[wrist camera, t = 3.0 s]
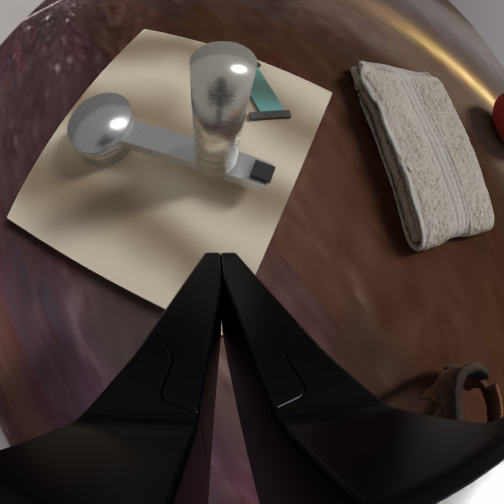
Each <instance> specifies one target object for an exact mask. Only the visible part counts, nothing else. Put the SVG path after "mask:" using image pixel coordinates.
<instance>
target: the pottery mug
mask: <svg viewBox="0 0 504 504" xmlns="http://www.w3.org/2000/svg"><path fill="white" fill-rule="evenodd" d="M489 377H490V374H489V371H488V369H487V368H486V367H485V366H484V365H482V364H480V363H478V362H470V363H468V364H466V365H464V366H462V365H457V364H452V365H448V366H445V367H444V370H441V371H440V373H439V374H438V376H437V379H436V380H435V382H434V384H433V385H432V386H431V387H430V388H429V389H427V390H426V391H425V392H423V393H422V394H421V395H420V399H426V400H429V401H431V402H433V403H435V404H437V405H439V406H441V407H442V408H441V409H440V410H438V411H437V412H435V413H434V414H433V415H432V416H435V417H440V418H446V419H451V420H458V421H464V422H465V420H464V416H463V411H462V399H461V398H462V389H465V390H467V391H469V390H471V389H473V388H480V389H481V391H482V393H483V396H484V399H485V402H486V406H487V419H488V421H487V423H488V422H493V421H496V420H499V419H500V418H502V417H503V404H502V398H501V394H500V390H499V387H498V385H497V384H496V383H495V384H493V385H491V386H487V385H486V383H485V381H484V380H486V379H488V378H489Z"/></svg>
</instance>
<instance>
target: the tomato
mask: <svg viewBox="0 0 504 504" xmlns="http://www.w3.org/2000/svg"><path fill="white" fill-rule="evenodd" d="M493 121H494V125H495V128H496V131H497V134H498V135H499V137H500V138H501V139H502V140H503V141H504V93H503V94H502V95H500V96H499V97H498V98H497V100H496V102H495V104H494V108H493Z"/></svg>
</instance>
